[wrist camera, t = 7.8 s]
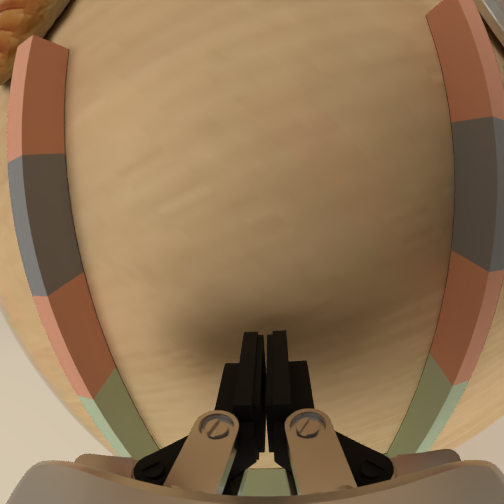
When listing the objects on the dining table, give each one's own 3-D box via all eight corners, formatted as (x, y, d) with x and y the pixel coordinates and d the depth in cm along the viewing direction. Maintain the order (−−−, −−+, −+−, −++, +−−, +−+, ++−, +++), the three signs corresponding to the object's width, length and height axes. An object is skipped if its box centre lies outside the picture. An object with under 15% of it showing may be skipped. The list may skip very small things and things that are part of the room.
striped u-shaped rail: (443, 21, 7) (473, 0, 4) (395, 456, 16) (404, 482, 13) (53, 58, 9) (17, 46, 6) (157, 464, 17) (149, 489, 14)
